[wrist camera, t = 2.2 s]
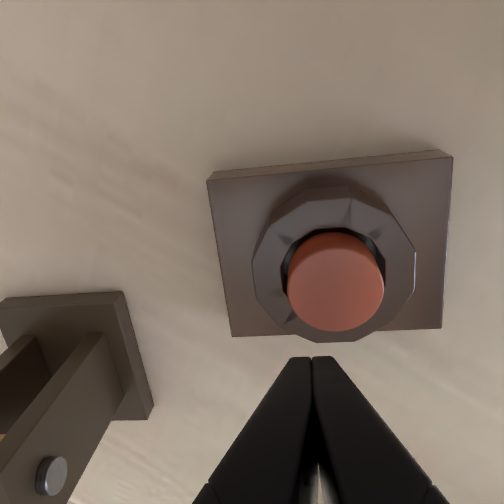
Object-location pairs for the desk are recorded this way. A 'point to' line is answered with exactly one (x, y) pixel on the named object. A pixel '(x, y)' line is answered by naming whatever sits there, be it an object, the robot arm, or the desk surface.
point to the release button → (334, 282)
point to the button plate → (334, 220)
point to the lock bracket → (63, 389)
